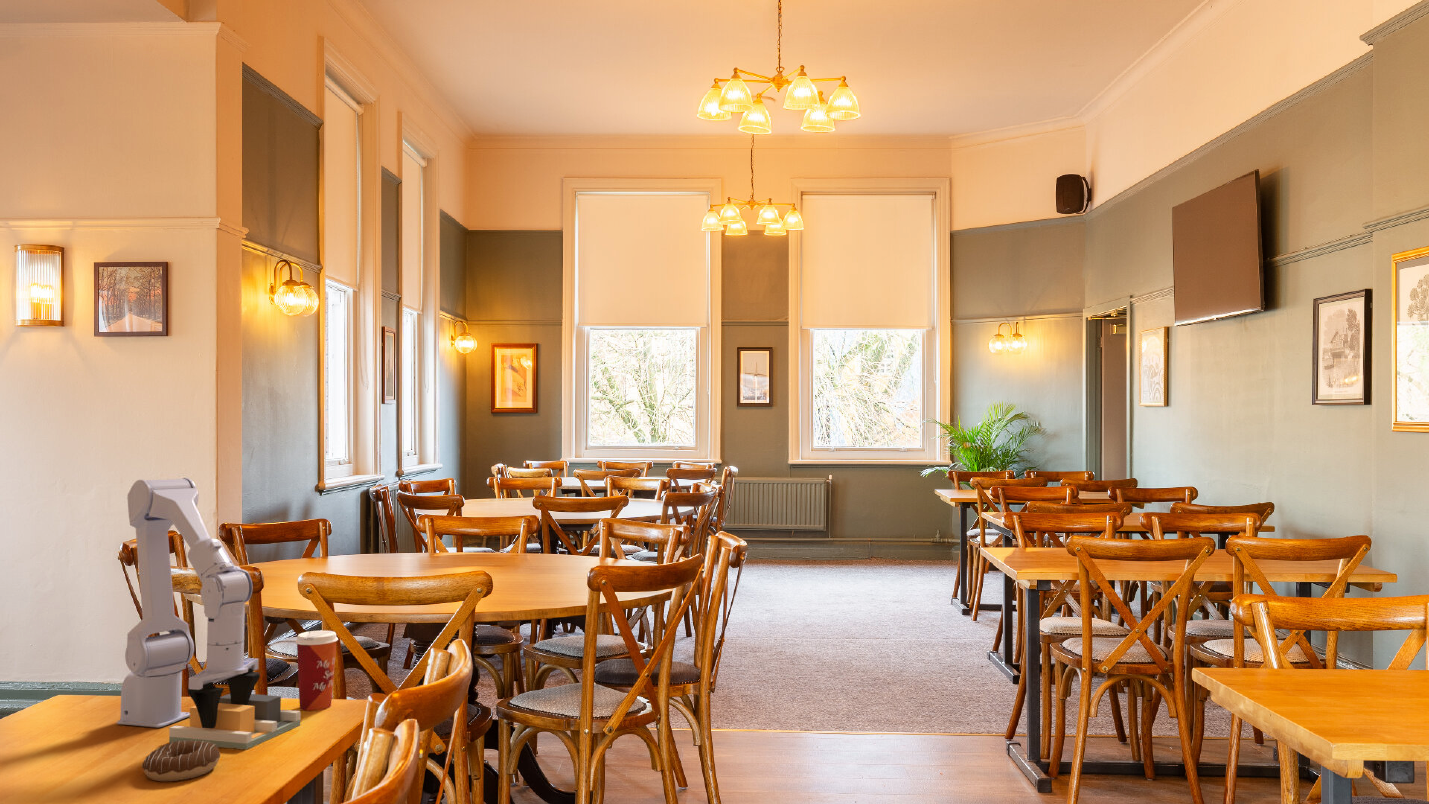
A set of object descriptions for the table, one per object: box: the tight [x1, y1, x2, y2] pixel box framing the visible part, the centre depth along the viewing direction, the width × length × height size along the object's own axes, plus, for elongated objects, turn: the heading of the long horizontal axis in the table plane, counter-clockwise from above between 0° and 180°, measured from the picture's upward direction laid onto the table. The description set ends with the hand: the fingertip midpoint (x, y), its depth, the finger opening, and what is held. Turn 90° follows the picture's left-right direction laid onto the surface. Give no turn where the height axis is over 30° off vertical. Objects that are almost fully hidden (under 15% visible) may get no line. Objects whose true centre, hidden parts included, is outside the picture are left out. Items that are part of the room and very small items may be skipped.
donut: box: [141, 741, 221, 782], centre depth 152 cm, size 11×11×4 cm
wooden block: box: [188, 703, 255, 733], centre depth 168 cm, size 10×4×4 cm, turn 77°
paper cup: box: [295, 629, 339, 712], centre depth 188 cm, size 8×8×14 cm
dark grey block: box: [219, 693, 282, 723], centre depth 174 cm, size 10×4×4 cm, turn 77°
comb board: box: [168, 709, 301, 750], centre depth 171 cm, size 15×14×2 cm
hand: (223, 721), depth 168 cm, fingers open, 7 cm apart
